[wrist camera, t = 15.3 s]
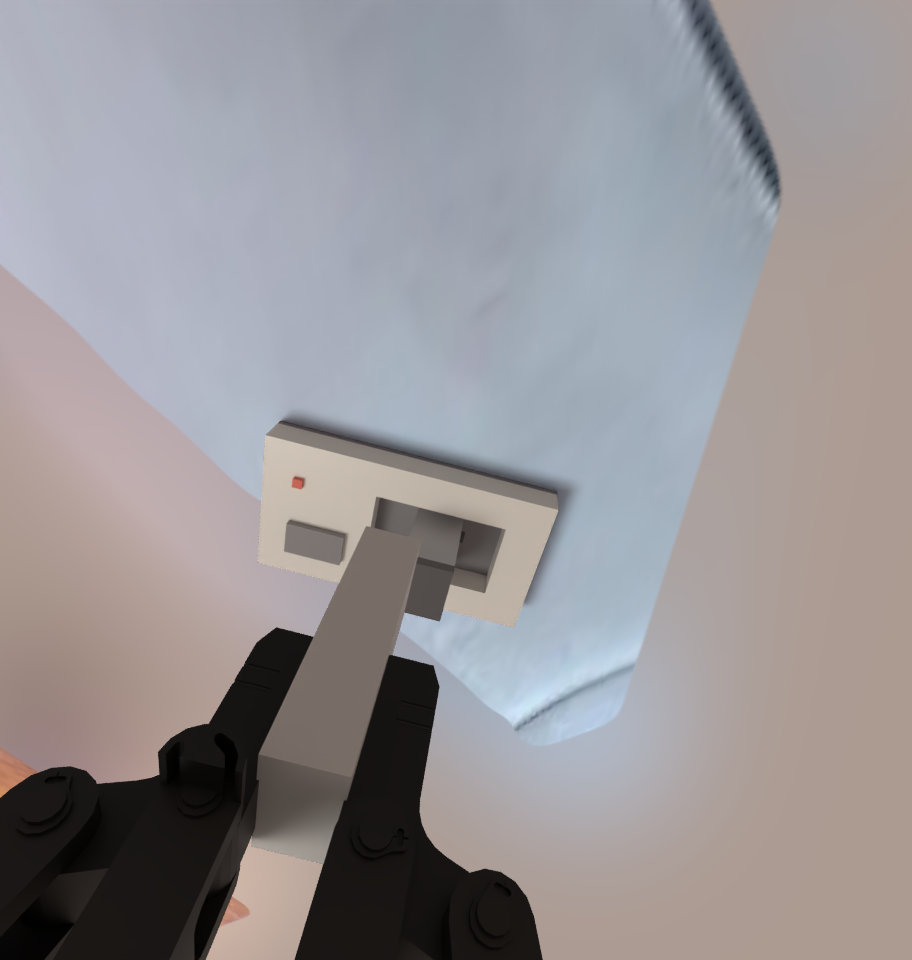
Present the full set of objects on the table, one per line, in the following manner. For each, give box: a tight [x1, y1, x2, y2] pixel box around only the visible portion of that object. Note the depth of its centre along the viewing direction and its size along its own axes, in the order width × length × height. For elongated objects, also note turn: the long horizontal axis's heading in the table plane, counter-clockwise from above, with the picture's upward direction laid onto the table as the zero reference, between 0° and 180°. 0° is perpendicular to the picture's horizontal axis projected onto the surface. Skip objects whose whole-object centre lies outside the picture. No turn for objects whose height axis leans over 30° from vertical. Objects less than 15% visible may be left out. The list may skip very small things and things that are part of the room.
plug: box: [405, 507, 464, 621], centre depth 45 cm, size 5×4×8 cm
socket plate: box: [258, 421, 559, 627], centre depth 48 cm, size 13×24×4 cm, turn 77°
